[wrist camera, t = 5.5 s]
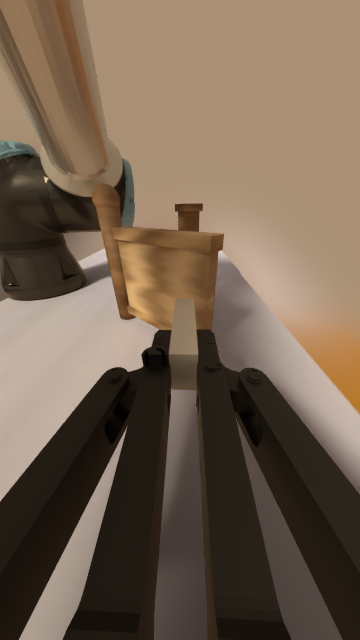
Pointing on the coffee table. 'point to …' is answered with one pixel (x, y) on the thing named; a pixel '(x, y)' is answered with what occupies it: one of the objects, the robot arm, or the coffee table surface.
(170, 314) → the gate
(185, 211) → the latch post
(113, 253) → the hinge post
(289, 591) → the coffee table surface
